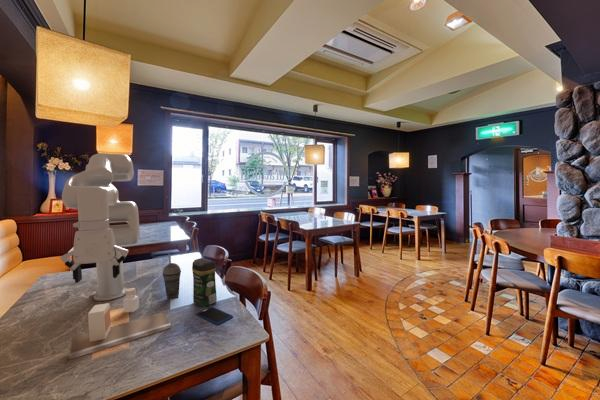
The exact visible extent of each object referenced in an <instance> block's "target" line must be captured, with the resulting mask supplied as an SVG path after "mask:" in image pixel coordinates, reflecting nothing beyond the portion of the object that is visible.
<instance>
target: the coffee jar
mask: <svg viewBox="0 0 600 400" xmlns="http://www.w3.org/2000/svg"><path fill="white" fill-rule="evenodd" d="M216 266H217V265H216V261H214V260H212V259H211V260H210V259H207V258H204V257H201V258H197V259H194V261H192V266H191V267H192V269H191V270H192V276H193V278H192V279H193V281H192V282H193V288H192V289H193V290H192V291H193V293H192V301H193V303H194V304H195V305H197V306H199V307H204V308H205V307H209V305H210V306H212V305H214V304H215V303H216V302H217V301H218V300H217V288H216V287H217V285H216V269H217V267H216Z"/></svg>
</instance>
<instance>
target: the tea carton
mask: <svg viewBox="0 0 600 400" xmlns="http://www.w3.org/2000/svg"><path fill="white" fill-rule="evenodd" d="M110 306H111V305H110V302H109V303H101V304H95V305H93V307H91V308H90V311H89V312H88V313H87V320H88V333H89V340H90V342H91V341H96V340H102V339H105V338H106V337H107V335H108V333H109V331H110V330H111V327H112V325H111V310H110V309H111V307H110Z"/></svg>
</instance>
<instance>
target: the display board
mask: <svg viewBox="0 0 600 400" xmlns="http://www.w3.org/2000/svg"><path fill="white" fill-rule="evenodd" d="M171 328H172V324H171V322H169V321H168V319H167V316H166V314H165V312H160V313H156V314H153V315H148V316H145V317H142V318H141V317H140V318H138V319H135V320H130V321H127V322H123V323H120V324H116V325H111V330H110V331H109V333H108V335H107V337H106V338H105V339H102V340H96V341H91V342H90V340H89V332H87V333H83V334H80V335H77V336H73V337H72V341H71V347H70V352H69V354H68V360H71V359H72V360H73V359H75V358H76V359H77V358H78V357H81V356H85V355H88V354H93V353H95V352H98V351H102V350H104V349H107V348H111V347H113V346H117V345H121V344H124V343H128V342H130V341H133V340H136V339H139V338H142V337H146V336H150V335H153V334H156V333H159V332H161V331H165V330H168V329H171Z"/></svg>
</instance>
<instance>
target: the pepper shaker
mask: <svg viewBox="0 0 600 400" xmlns="http://www.w3.org/2000/svg"><path fill="white" fill-rule="evenodd" d="M136 292H137V291H136V287H130V288H128V289H127V290H126V294H125V297H124V298H123V300H122V302H123V303H122V305H123V306H122V307H123V313H134V312H136V311H137V310H138V309H139V308H140V302H139V301H140V300H139V298H140V297H139V295H136Z"/></svg>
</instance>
